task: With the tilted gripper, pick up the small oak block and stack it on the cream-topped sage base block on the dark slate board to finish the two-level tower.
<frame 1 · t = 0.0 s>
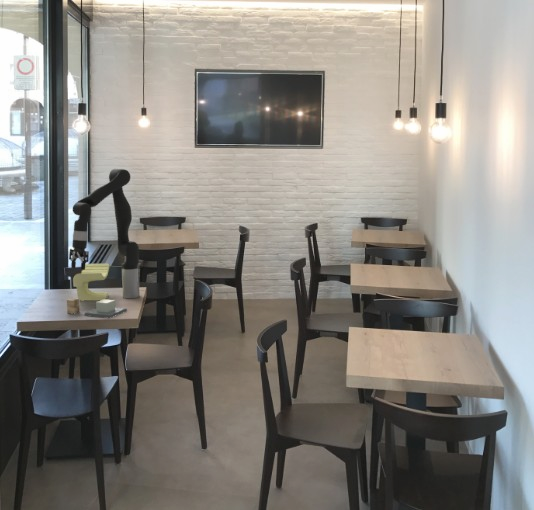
hand: (78, 268, 392), 22 cm above the table, tool pointing down, fingers open, 8 cm apart
slatted curved stool: (93, 298, 421), on the table
oak block: (73, 312, 387), on the table
tower board: (105, 313, 386), on the table
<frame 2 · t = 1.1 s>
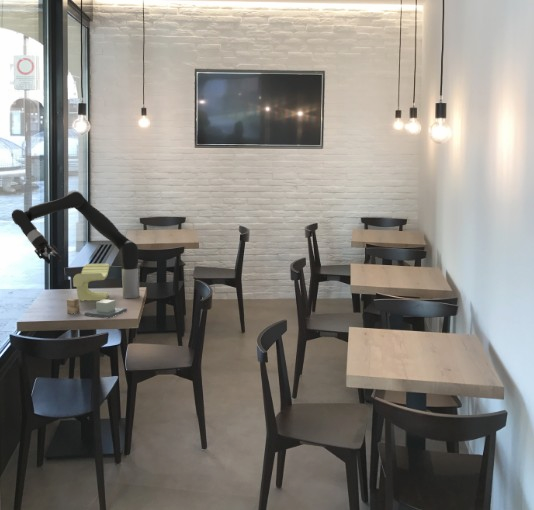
hand: (55, 261, 389), 27 cm above the table, tool tilted 45°, fingers open, 8 cm apart
nothing on the table moved.
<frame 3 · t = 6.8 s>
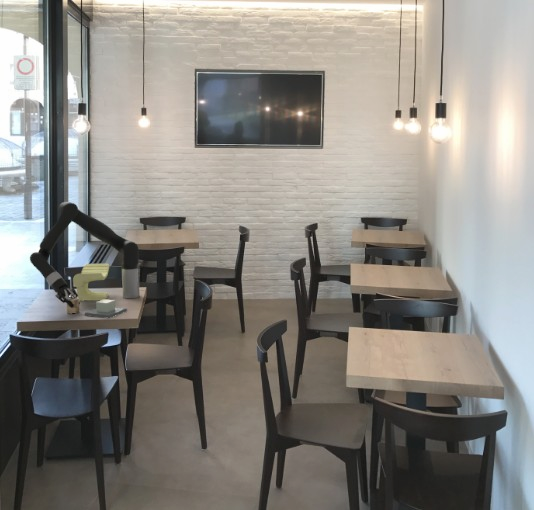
hand: (75, 305, 386), 4 cm above the table, tool tilted 45°, fingers closed on oak block, 4 cm apart
oak block: (73, 312, 387), on the table, touching gripper
everything else where it was.
when the fingers open (12 cm above the table, at t = 12.4 s): oak block drops 1 cm, resting on tower board.
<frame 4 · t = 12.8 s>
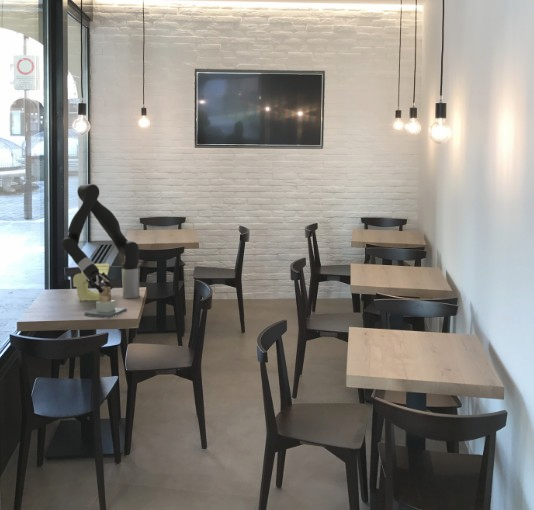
hand: (107, 290, 383), 13 cm above the table, tool tilted 45°, fingers open, 8 cm apart
oak block: (105, 301, 384), point 7 cm above the table, touching tower board
everything else where it was.
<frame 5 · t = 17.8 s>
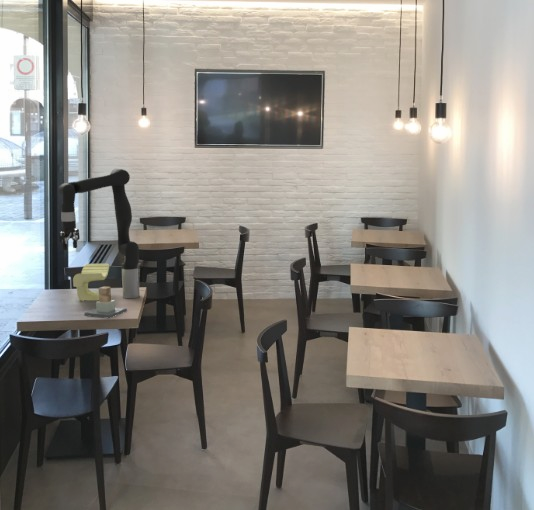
hand: (70, 249, 398), 32 cm above the table, tool pointing down, fingers open, 8 cm apart
nothing on the table moved.
at the end: oak block 0.1 cm off-centre on the tower board, point 6.6 cm above the tower board's base; oak block tilted 0°; the gripper is holding nothing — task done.
